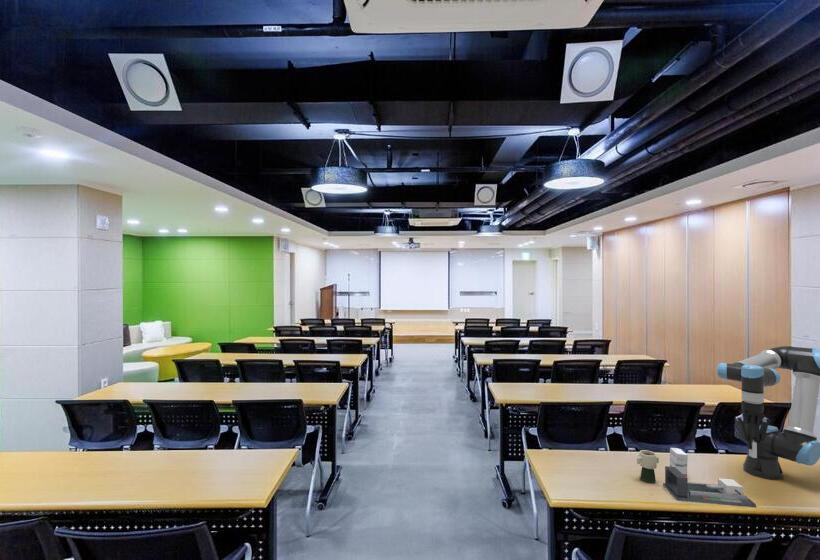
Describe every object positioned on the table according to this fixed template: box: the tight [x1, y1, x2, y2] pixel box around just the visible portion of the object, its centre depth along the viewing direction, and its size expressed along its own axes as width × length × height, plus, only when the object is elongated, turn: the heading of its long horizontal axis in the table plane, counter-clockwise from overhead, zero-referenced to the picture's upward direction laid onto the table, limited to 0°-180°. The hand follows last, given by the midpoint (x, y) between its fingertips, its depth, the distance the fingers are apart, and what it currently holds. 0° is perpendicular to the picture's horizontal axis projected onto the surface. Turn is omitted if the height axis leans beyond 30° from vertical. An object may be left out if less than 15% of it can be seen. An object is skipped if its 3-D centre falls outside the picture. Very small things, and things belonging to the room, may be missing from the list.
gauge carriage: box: [706, 478, 744, 495], centre depth 181 cm, size 12×11×5 cm
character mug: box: [636, 449, 660, 483], centre depth 198 cm, size 11×7×13 cm, turn 97°
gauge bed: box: [662, 465, 757, 508], centre depth 184 cm, size 30×14×9 cm, turn 81°
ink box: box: [669, 447, 689, 478], centre depth 204 cm, size 9×5×12 cm, turn 168°
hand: (752, 456), depth 181 cm, fingers closed
